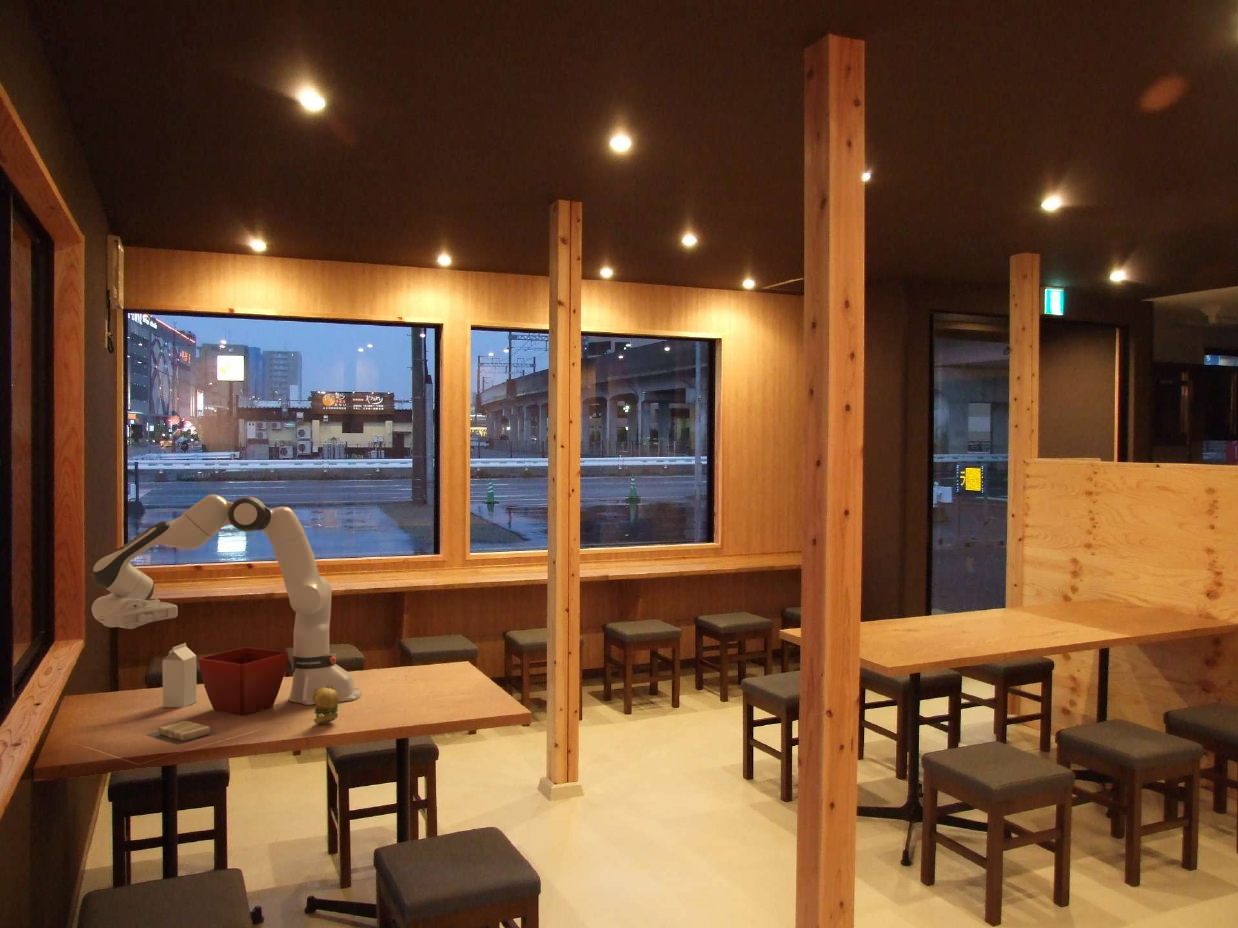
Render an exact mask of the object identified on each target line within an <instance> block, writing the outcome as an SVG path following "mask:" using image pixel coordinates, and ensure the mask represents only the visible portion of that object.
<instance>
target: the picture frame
mask: <svg viewBox="0 0 1238 928" xmlns="http://www.w3.org/2000/svg"><path fill="white" fill-rule="evenodd" d="M158 731H159V734H161V735H165V736H168V737H171V738H175V739H178V740H181V741H186V740H190V739H194V738H197V737H201V736H204V735H207V734H210V731H211V727H210V726H208V725H204V724H201V723H200V724H199V723H197V722H193V721H189V720H183V721H178V722H174V723H171V724H167V725H163V726H160V727H159V726H158Z"/></svg>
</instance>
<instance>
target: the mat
mask: <svg viewBox="0 0 1238 928" xmlns="http://www.w3.org/2000/svg"><path fill="white" fill-rule="evenodd" d="M217 734H219V733H218V732H215V731H212V730H210V734H207V735H204V736H201V737H197V738H194V739H190V740H186V741H181V740H178V739H175V738H171V737H168V736H165V735H161V734H159V730H158V731H156V732H152V733H147V734H146V736H148V737H151V738H154V739H158V740H160V741H161V740H162V741H164V742H168V743H171V744H174V745H181V744H186V743H189V742H192V741H196V740H199V739H203V738H206V737H210V736H214V735H217Z"/></svg>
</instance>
